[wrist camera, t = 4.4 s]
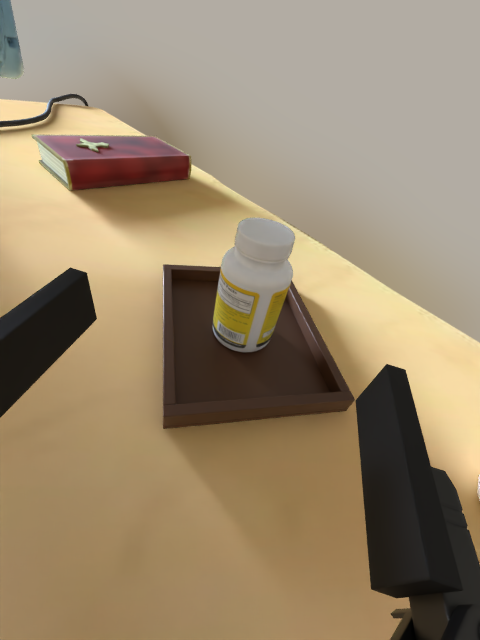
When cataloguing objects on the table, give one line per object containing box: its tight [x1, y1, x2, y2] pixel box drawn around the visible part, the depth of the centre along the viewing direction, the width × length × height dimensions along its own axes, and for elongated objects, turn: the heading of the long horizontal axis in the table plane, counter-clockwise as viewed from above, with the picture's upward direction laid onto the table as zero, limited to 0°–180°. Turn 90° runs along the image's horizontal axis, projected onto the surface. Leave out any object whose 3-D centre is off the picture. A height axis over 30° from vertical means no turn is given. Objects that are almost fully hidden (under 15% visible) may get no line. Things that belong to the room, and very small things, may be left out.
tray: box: [163, 265, 355, 429], centre depth 25 cm, size 17×14×2 cm
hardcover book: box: [32, 135, 191, 190], centre depth 48 cm, size 12×21×4 cm, turn 134°
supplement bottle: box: [213, 218, 295, 352], centre depth 22 cm, size 5×5×10 cm
